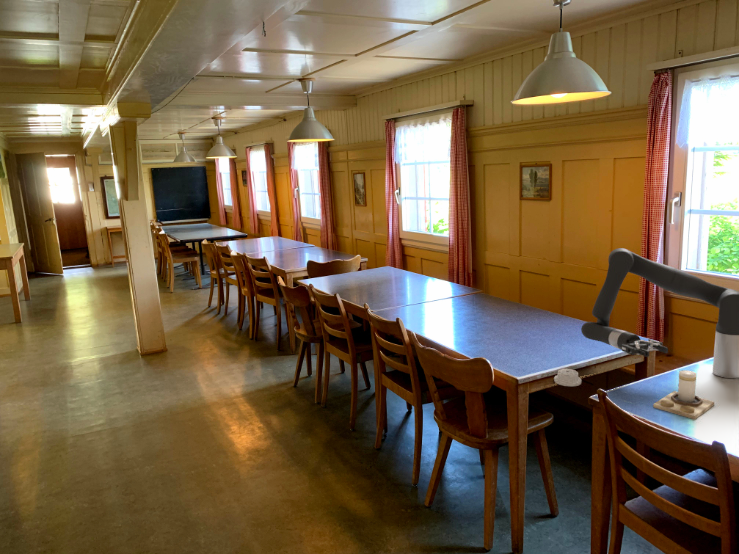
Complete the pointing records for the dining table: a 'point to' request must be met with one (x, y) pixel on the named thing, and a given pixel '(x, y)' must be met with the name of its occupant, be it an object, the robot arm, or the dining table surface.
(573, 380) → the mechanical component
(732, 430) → the dining table surface
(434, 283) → the dining table surface
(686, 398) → the cylinder
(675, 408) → the board
